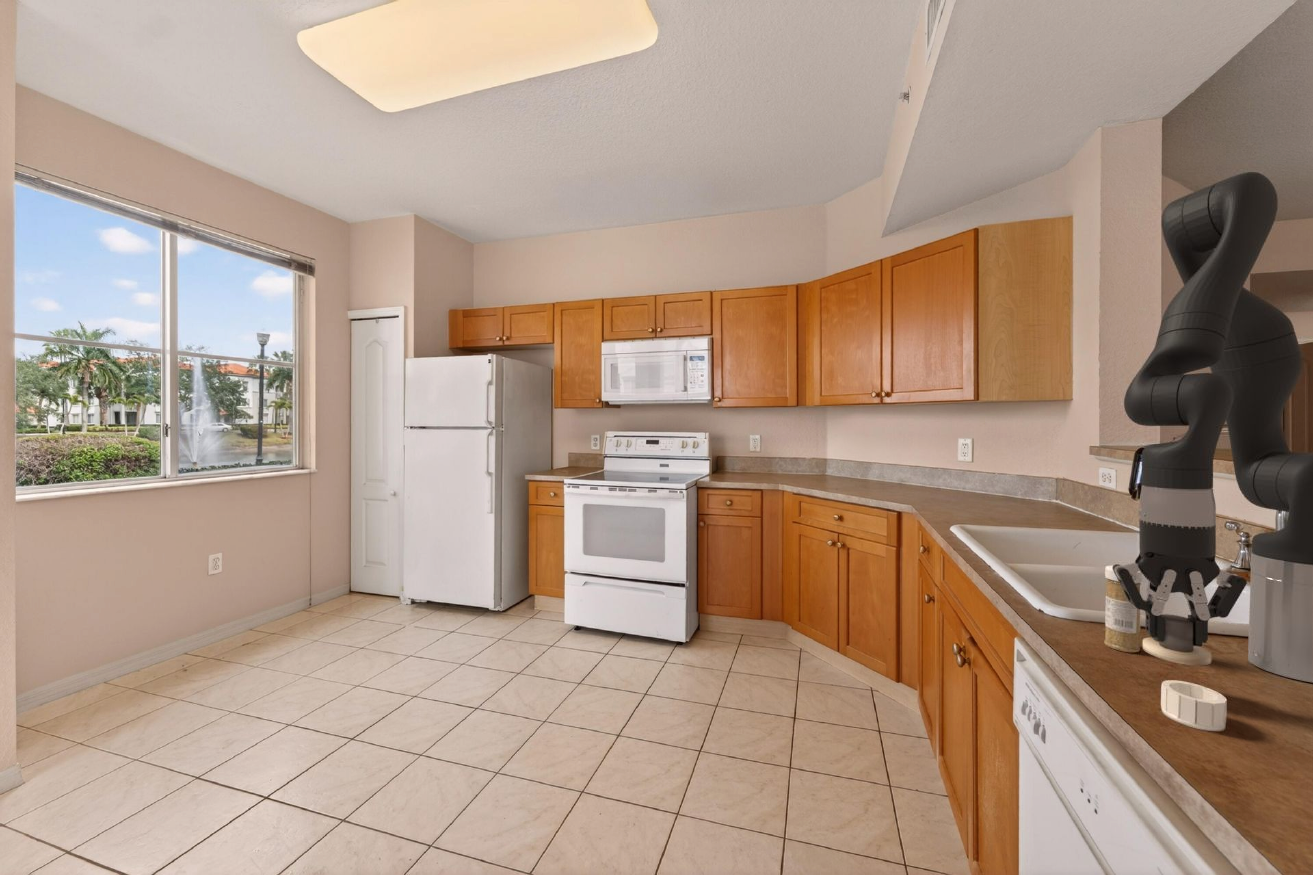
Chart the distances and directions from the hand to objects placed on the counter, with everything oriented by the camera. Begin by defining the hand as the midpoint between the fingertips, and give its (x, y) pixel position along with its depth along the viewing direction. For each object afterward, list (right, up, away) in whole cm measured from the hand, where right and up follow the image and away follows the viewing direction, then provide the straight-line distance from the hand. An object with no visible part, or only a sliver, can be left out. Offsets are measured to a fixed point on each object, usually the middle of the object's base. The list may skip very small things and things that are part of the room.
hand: (1176, 641), depth 73 cm
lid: (0, -2, 0) cm, 2 cm away
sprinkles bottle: (+6, -7, +15) cm, 17 cm away
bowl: (-4, -7, -6) cm, 10 cm away
